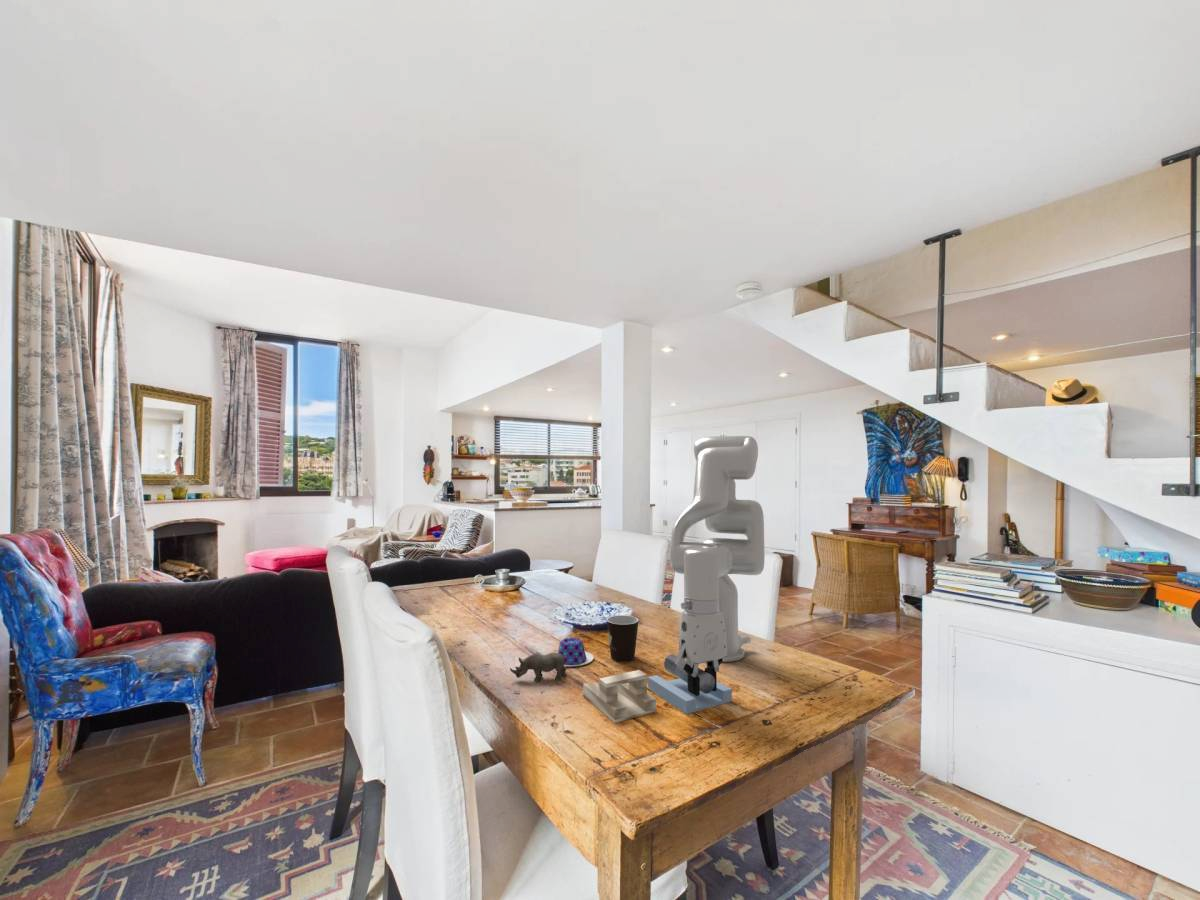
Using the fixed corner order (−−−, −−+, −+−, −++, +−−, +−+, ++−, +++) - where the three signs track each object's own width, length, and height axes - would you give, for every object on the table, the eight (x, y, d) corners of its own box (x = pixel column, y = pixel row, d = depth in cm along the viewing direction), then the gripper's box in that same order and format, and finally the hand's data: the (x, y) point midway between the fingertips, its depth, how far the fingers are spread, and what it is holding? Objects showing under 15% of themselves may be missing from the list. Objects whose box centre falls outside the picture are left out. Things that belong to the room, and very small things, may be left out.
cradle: (690, 678, 121) (690, 667, 121) (731, 701, 109) (731, 688, 109) (648, 688, 115) (647, 677, 115) (686, 714, 103) (686, 701, 103)
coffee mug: (636, 664, 130) (636, 625, 130) (604, 661, 131) (604, 623, 132) (641, 649, 141) (641, 613, 142) (611, 647, 143) (611, 611, 143)
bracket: (621, 686, 116) (621, 658, 116) (656, 711, 104) (656, 680, 104) (583, 695, 111) (583, 666, 112) (614, 722, 99) (614, 690, 99)
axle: (663, 672, 117) (664, 655, 117) (677, 669, 119) (677, 652, 119) (700, 695, 105) (700, 676, 106) (714, 691, 107) (715, 672, 107)
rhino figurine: (509, 677, 121) (509, 652, 122) (565, 673, 124) (566, 649, 124) (509, 684, 117) (510, 658, 118) (567, 680, 120) (568, 654, 120)
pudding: (541, 657, 135) (541, 637, 136) (580, 649, 141) (580, 631, 142) (560, 672, 125) (561, 651, 125) (602, 663, 131) (602, 643, 131)
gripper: (681, 614, 102) (682, 706, 101) (742, 604, 110) (743, 689, 109) (660, 606, 108) (660, 692, 107) (718, 597, 116) (719, 677, 115)
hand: (702, 690), depth 108 cm, fingers closed on axle, 4 cm apart
